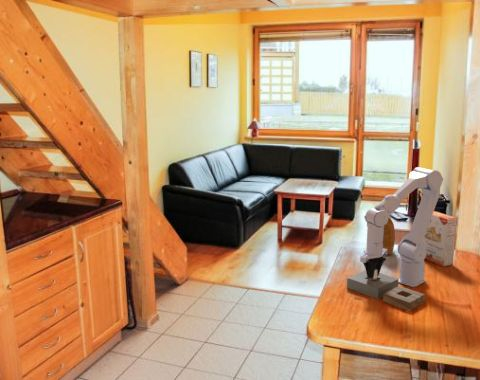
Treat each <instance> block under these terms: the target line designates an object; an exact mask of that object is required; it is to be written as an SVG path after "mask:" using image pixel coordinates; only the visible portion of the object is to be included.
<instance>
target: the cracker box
mask: <svg viewBox="0 0 480 380" xmlns="http://www.w3.org/2000/svg"><path fill="white" fill-rule="evenodd" d="M457 222H458V218H457V216H456V217H455V216H452V215H448V214H445V213H442V212H439V211H435V210H434V212H433V214H432V217H431V220H430V223H429V226H428V228H427V231H426V234H425V237H424V239H425V241H426V243H427V245H428V246H427V249H426V257H425V259H424V260H427V261H429V262H431V263H434V264H435V265H438V266H441V267H442V268H443V267H448V266H452V265H453V264H454V255H455V245H456V236H457V235H456V234H457V233H456V232H457Z"/></svg>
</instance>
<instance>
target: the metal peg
mask: <svg viewBox="0 0 480 380" xmlns="http://www.w3.org/2000/svg"><path fill="white" fill-rule="evenodd" d="M377 273H378V269H377V268H375V271H374V277H373V279H371V278H369V280H371V281H374V282H375V281H377Z"/></svg>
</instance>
